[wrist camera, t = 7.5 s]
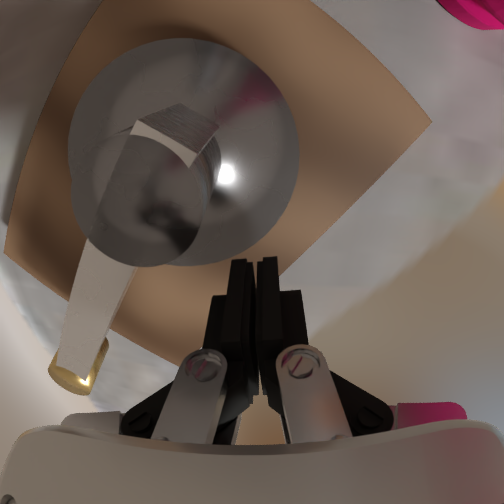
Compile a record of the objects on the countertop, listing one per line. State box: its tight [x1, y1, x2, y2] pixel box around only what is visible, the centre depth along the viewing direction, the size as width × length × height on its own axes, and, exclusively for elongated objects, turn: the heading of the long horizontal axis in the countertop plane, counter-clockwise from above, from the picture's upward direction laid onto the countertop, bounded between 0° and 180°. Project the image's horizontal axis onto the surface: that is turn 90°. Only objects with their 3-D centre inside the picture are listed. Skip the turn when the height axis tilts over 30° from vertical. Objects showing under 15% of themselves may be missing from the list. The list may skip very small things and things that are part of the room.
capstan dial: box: [48, 38, 300, 395], centre depth 11 cm, size 16×9×5 cm, turn 146°
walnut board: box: [4, 0, 432, 367], centre depth 13 cm, size 20×14×2 cm
